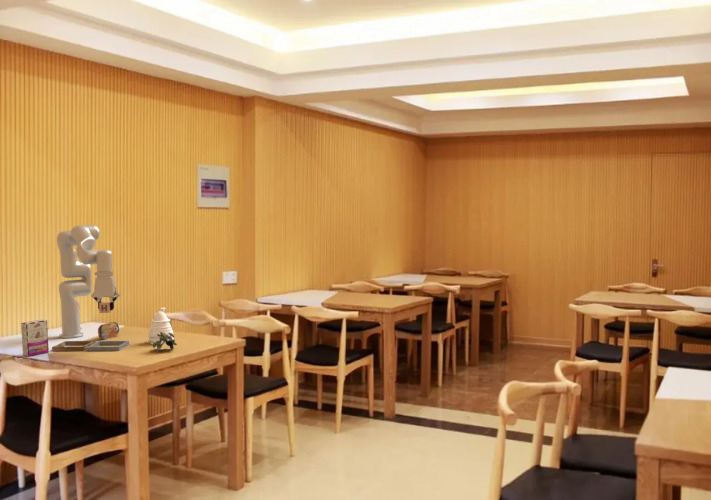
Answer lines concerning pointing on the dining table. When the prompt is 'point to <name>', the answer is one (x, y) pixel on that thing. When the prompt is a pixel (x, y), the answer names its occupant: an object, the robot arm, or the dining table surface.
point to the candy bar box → (34, 337)
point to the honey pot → (159, 326)
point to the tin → (108, 330)
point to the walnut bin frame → (81, 348)
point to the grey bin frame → (112, 348)
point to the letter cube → (104, 307)
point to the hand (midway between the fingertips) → (106, 309)
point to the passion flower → (164, 338)
